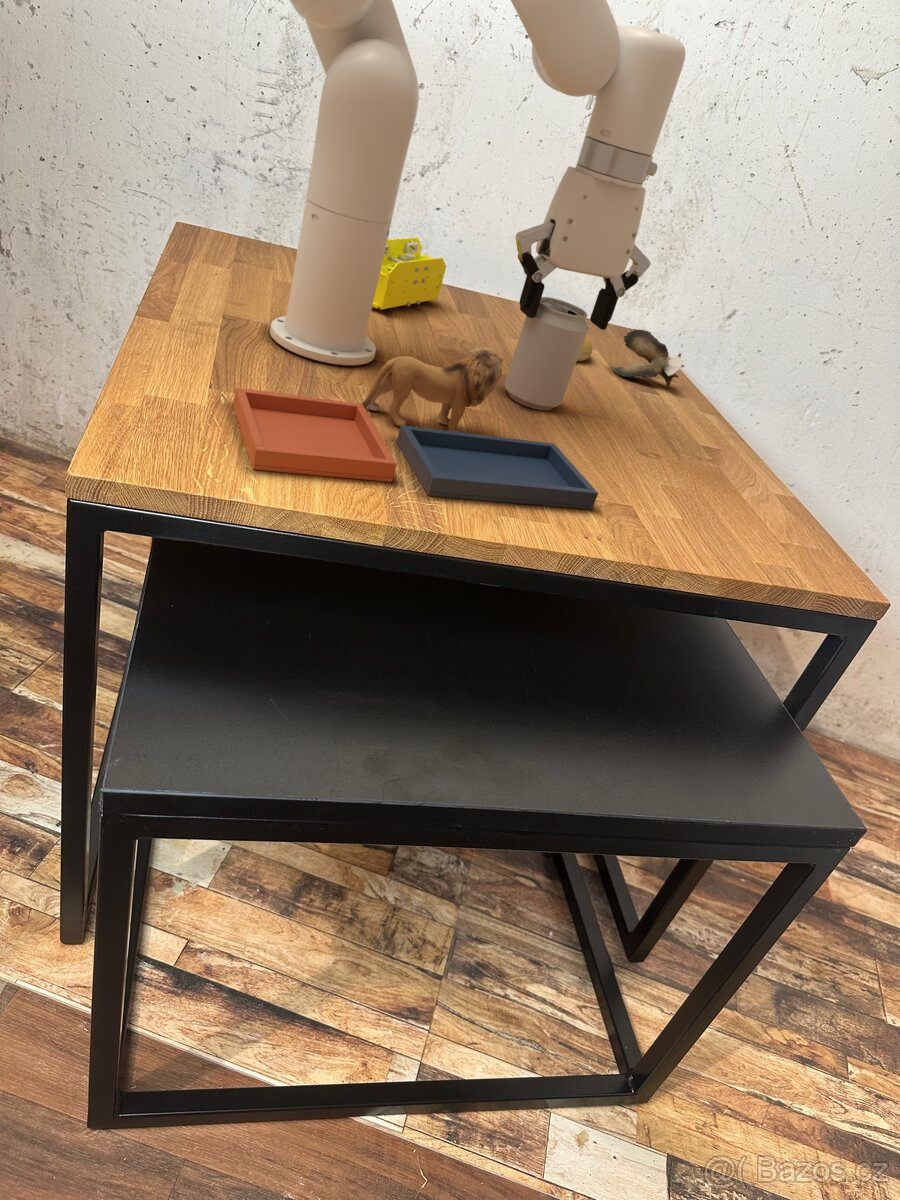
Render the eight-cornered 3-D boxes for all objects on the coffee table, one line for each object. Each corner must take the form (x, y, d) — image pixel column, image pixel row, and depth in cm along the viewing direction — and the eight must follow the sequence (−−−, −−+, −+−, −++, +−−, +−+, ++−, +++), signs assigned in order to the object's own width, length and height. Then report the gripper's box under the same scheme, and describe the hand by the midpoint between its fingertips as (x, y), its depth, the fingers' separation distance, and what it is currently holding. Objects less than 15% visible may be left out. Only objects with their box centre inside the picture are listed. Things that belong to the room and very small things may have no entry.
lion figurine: (473, 419, 97) (497, 342, 92) (490, 441, 93) (516, 361, 88) (347, 404, 91) (366, 320, 86) (361, 427, 87) (381, 340, 82)
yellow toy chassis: (407, 291, 134) (420, 235, 130) (437, 304, 133) (452, 249, 128) (348, 300, 122) (361, 239, 117) (381, 315, 120) (396, 254, 116)
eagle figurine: (666, 368, 134) (616, 342, 132) (694, 341, 128) (642, 313, 126) (658, 406, 131) (607, 380, 129) (686, 380, 124) (633, 352, 122)
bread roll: (551, 359, 125) (561, 332, 123) (527, 336, 132) (535, 310, 130) (599, 366, 129) (608, 340, 127) (572, 343, 135) (581, 319, 133)
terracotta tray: (232, 405, 83) (235, 387, 82) (358, 421, 88) (362, 403, 87) (252, 469, 73) (256, 449, 72) (392, 482, 79) (397, 463, 78)
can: (556, 419, 105) (591, 322, 98) (497, 398, 105) (529, 301, 99) (561, 400, 111) (595, 308, 105) (506, 381, 111) (536, 288, 105)
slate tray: (396, 442, 86) (400, 424, 85) (548, 459, 94) (554, 443, 93) (428, 495, 78) (433, 477, 77) (591, 509, 86) (598, 493, 85)
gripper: (660, 173, 100) (609, 319, 109) (528, 139, 93) (486, 298, 102) (695, 188, 94) (638, 341, 103) (557, 154, 87) (509, 320, 96)
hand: (562, 320), depth 103 cm, fingers open, 9 cm apart
